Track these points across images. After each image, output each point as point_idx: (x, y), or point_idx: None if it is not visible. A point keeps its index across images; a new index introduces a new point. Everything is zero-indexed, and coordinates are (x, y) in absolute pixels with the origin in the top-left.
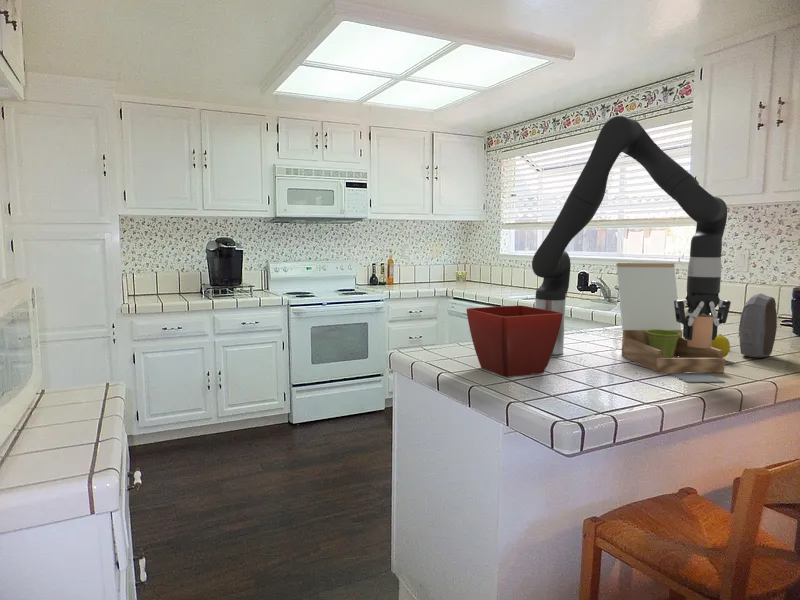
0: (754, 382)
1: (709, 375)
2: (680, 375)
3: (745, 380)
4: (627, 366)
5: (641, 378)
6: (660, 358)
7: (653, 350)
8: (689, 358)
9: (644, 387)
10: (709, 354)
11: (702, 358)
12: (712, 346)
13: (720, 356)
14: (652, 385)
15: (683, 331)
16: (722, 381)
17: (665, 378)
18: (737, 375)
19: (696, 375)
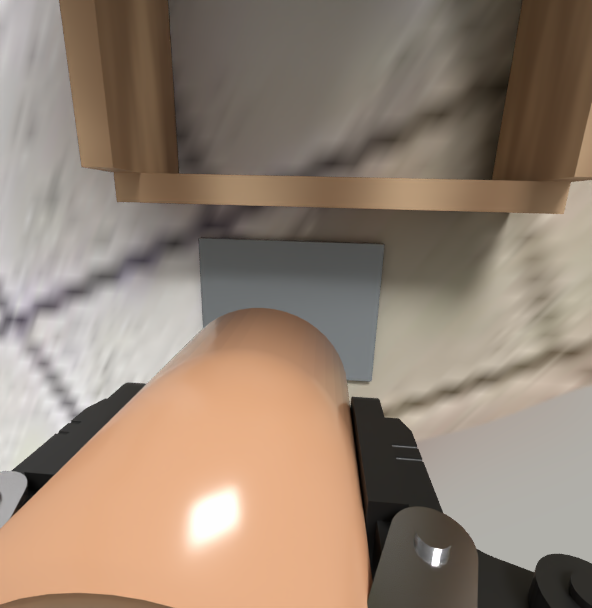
0: (509, 383)
1: (376, 280)
2: (232, 274)
3: (497, 351)
4: (50, 31)
5: (48, 292)
6: (127, 192)
7: (80, 105)
8: (316, 198)
9: (21, 412)
10: (564, 64)
11: (407, 199)
12: None
13: (561, 180)
14: (57, 392)
15: (60, 437)
16: (360, 380)
17: (151, 298)
18: (543, 261)
19: (310, 276)
